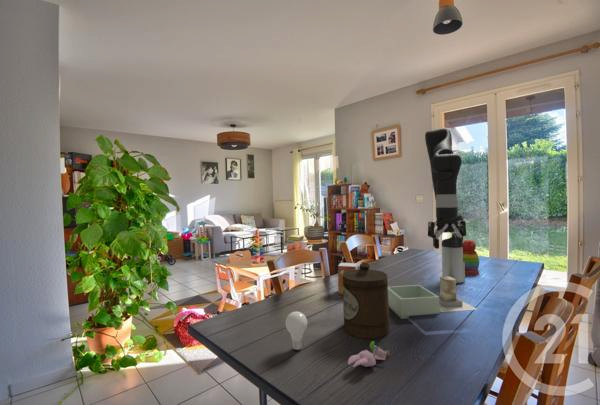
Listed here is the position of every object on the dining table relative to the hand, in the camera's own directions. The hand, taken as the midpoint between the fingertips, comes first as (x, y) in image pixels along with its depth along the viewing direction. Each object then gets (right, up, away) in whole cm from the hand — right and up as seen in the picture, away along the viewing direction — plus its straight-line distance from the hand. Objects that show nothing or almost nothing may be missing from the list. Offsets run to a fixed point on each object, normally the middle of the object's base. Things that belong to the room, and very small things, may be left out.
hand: (447, 247), depth 114 cm
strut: (+1, -22, +1) cm, 22 cm away
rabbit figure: (-39, -25, -36) cm, 59 cm away
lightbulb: (-58, -26, -28) cm, 69 cm away
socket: (+1, -23, +1) cm, 23 cm away
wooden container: (-35, -25, -16) cm, 46 cm away
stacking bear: (+35, -21, +46) cm, 61 cm away
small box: (-35, -24, +19) cm, 47 cm away
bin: (-15, -23, -2) cm, 28 cm away
